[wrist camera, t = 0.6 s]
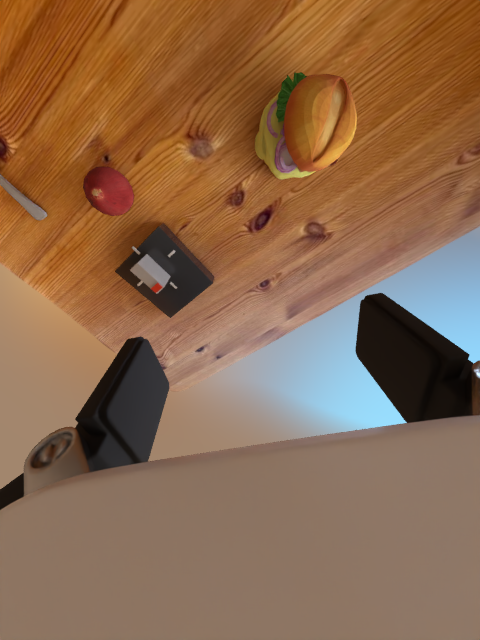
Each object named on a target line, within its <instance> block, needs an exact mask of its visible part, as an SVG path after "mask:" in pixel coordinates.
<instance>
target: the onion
mask: <svg viewBox="0 0 480 640" xmlns="http://www.w3.org/2000/svg"><path fill="white" fill-rule="evenodd" d="M83 189H84V192H85V195H86V198H87V199H88V201H89V202H90V203H91V205H92V206H93V207H94V208H96V209H97V210H99V211H100V212H102V213H104V214H107V215H111V216H115V215H122V214H124V213H125V212H127V211H128V210H129V209H130V208H131V206H132V204H133V199H134V194H133V190H132V187H131V185H130V183H129V182H128V180H127V179H126V178H125V177H124V176H123V175H122V174H121V173H120V172H118V171H116V170H114V169H112V168H110V167H96V168H94V169H92V170H91V171H89V172H88V174H87V175H86V177H85V179H84V185H83Z"/></svg>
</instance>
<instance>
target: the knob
mask: <svg viewBox="0 0 480 640" xmlns="http://www.w3.org/2000/svg"><path fill="white" fill-rule="evenodd" d="M130 271H131V272H132V273H133V274H135V275H136V276H137V277H138V278H139V279H140V280H141V281H143V282H144V283H145V284H146V285H147V286H148V287H149V288H151V289H152V290H153V291H154V292H155V293H156V294H157V293H159V292H160V291H161V290H162V289H163V288H164V287H165V285H166V284H167V282H168V280H169V279H170V277H171V276H170V275H169V274H168V273H167V272H166V271H164V270H163V269H162V268H161V267H160V266H159V265H158V264H157V263H156V262H155V261H154V260H153V259H152V258H151V257H150V256H149V255H148V254H146V255H145V256H144V257H143V258H142V259H141V260H140V261H139V262H137V263H136V264H135V265H134V266H133V267H132V268H131V269H130Z"/></svg>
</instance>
